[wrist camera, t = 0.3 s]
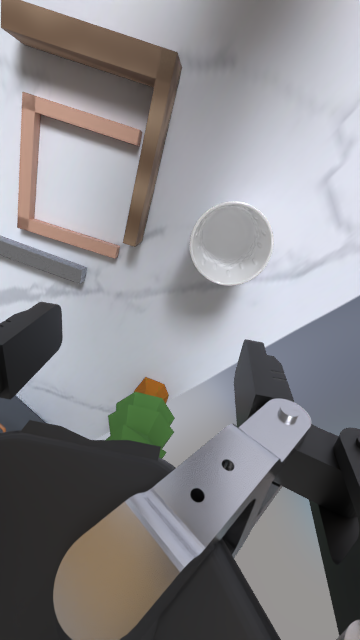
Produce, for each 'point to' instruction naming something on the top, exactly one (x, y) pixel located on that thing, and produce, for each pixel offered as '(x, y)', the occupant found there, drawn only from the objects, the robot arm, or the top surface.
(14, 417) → the storage bin
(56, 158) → the top surface
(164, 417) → the decorative tree
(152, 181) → the wooden l-shaped bracket
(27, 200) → the corral frame
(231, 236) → the white cup
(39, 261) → the straight bar
